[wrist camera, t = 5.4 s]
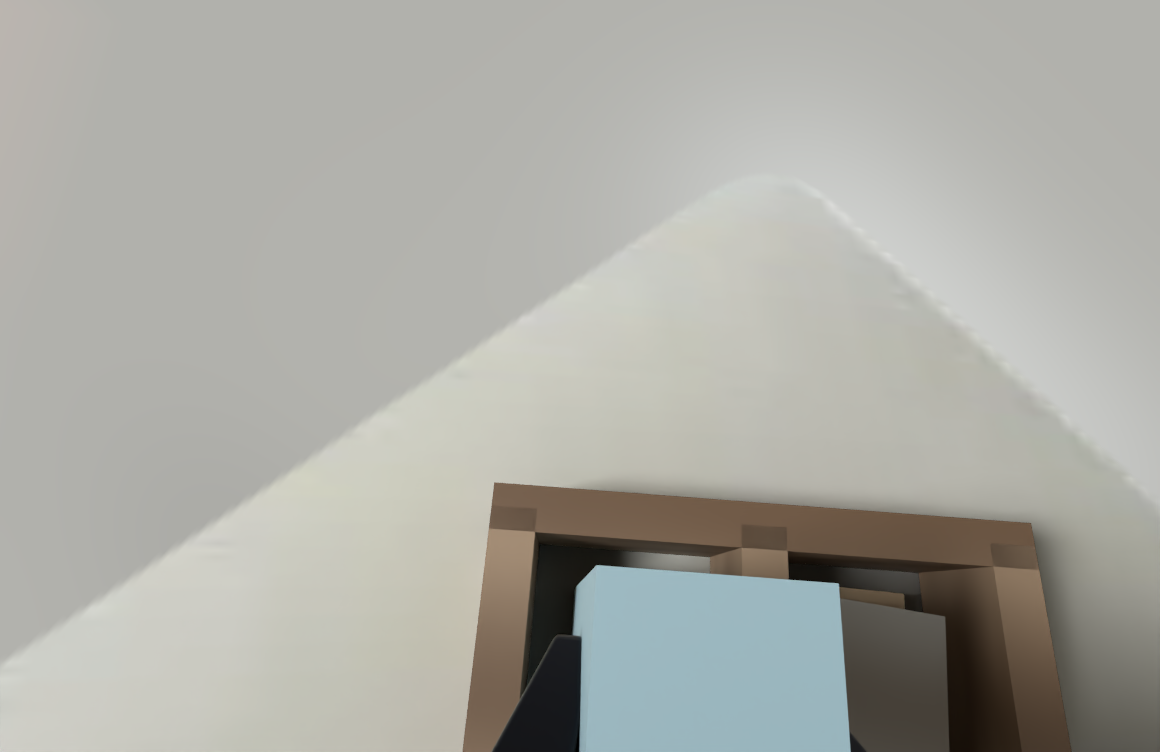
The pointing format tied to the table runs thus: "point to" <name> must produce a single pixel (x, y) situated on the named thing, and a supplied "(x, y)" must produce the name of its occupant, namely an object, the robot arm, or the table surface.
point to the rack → (763, 549)
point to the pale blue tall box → (709, 663)
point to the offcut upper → (895, 678)
